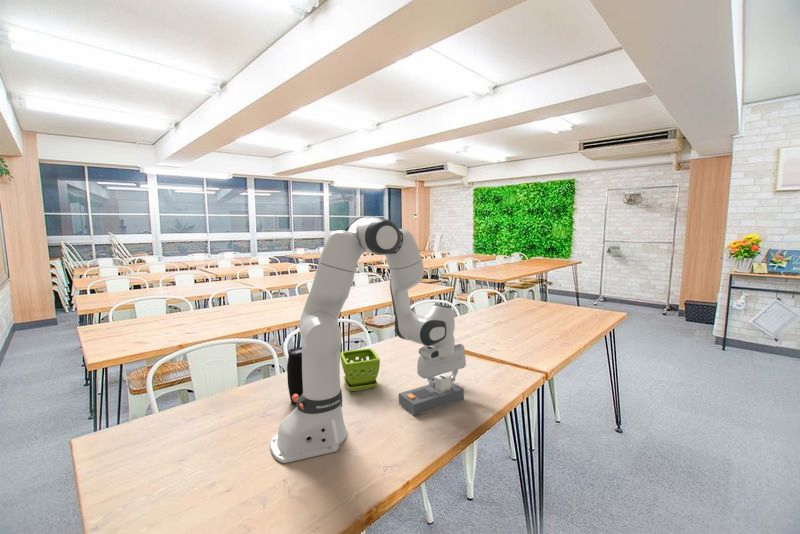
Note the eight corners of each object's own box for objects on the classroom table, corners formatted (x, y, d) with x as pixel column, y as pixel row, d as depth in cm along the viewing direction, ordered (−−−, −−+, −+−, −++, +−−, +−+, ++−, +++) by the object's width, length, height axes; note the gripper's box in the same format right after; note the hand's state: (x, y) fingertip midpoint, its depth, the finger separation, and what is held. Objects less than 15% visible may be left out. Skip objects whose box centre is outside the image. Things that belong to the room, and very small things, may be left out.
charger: (441, 399, 131) (441, 380, 130) (434, 394, 135) (434, 376, 134) (451, 396, 134) (451, 377, 133) (443, 391, 137) (443, 373, 136)
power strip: (414, 415, 122) (414, 403, 121) (398, 403, 130) (398, 391, 130) (463, 399, 133) (464, 387, 133) (446, 389, 142) (446, 377, 141)
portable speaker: (284, 403, 132) (281, 351, 130) (301, 393, 140) (299, 344, 138) (302, 408, 128) (299, 355, 126) (319, 397, 137) (316, 347, 134)
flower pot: (340, 380, 151) (339, 351, 150) (373, 376, 155) (372, 347, 154) (346, 395, 138) (345, 363, 137) (381, 389, 142) (380, 358, 141)
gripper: (458, 340, 140) (458, 374, 142) (414, 350, 130) (415, 387, 131) (469, 344, 135) (469, 380, 137) (424, 355, 125) (425, 393, 126)
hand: (442, 383), depth 134 cm, fingers open, 8 cm apart
